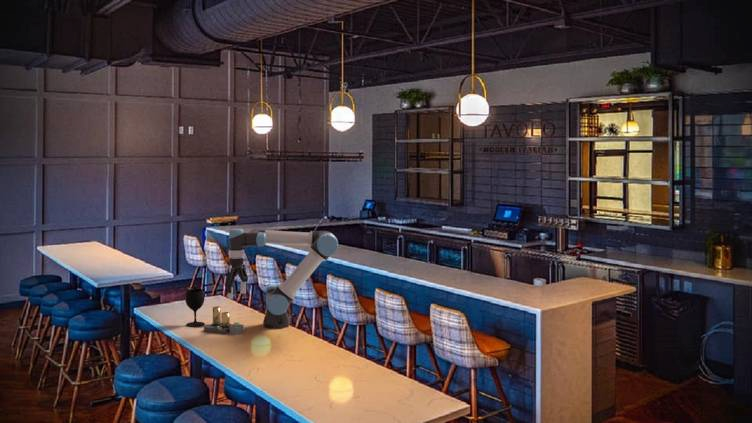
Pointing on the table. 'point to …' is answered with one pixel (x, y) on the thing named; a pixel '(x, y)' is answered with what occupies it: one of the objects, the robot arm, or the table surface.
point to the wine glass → (194, 304)
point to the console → (236, 329)
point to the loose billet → (217, 314)
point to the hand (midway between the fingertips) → (236, 296)
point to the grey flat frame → (217, 328)
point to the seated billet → (225, 319)
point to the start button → (236, 324)
